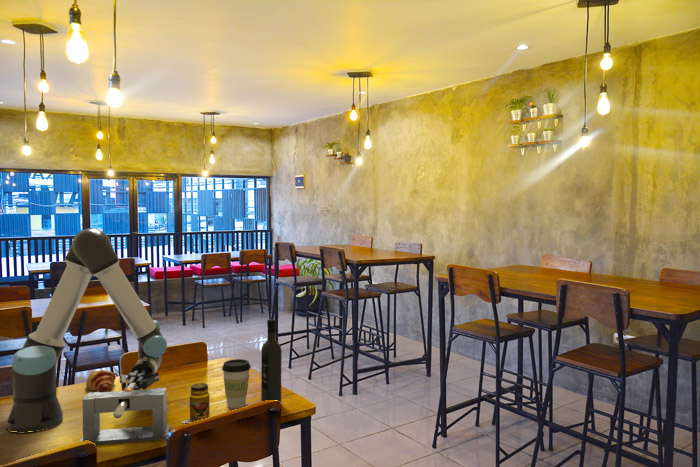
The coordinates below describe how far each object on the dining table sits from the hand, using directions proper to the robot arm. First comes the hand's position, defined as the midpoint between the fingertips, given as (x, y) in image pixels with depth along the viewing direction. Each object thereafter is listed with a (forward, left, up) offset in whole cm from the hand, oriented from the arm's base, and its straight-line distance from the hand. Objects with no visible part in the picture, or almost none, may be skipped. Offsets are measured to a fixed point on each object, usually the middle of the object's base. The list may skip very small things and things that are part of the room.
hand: (128, 394), depth 156 cm
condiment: (+20, +2, -11) cm, 23 cm away
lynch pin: (0, -9, -3) cm, 9 cm away
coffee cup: (+32, +14, -11) cm, 37 cm away
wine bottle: (+44, +12, -11) cm, 47 cm away
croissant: (-19, +44, -11) cm, 49 cm away
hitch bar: (0, -6, -11) cm, 12 cm away
